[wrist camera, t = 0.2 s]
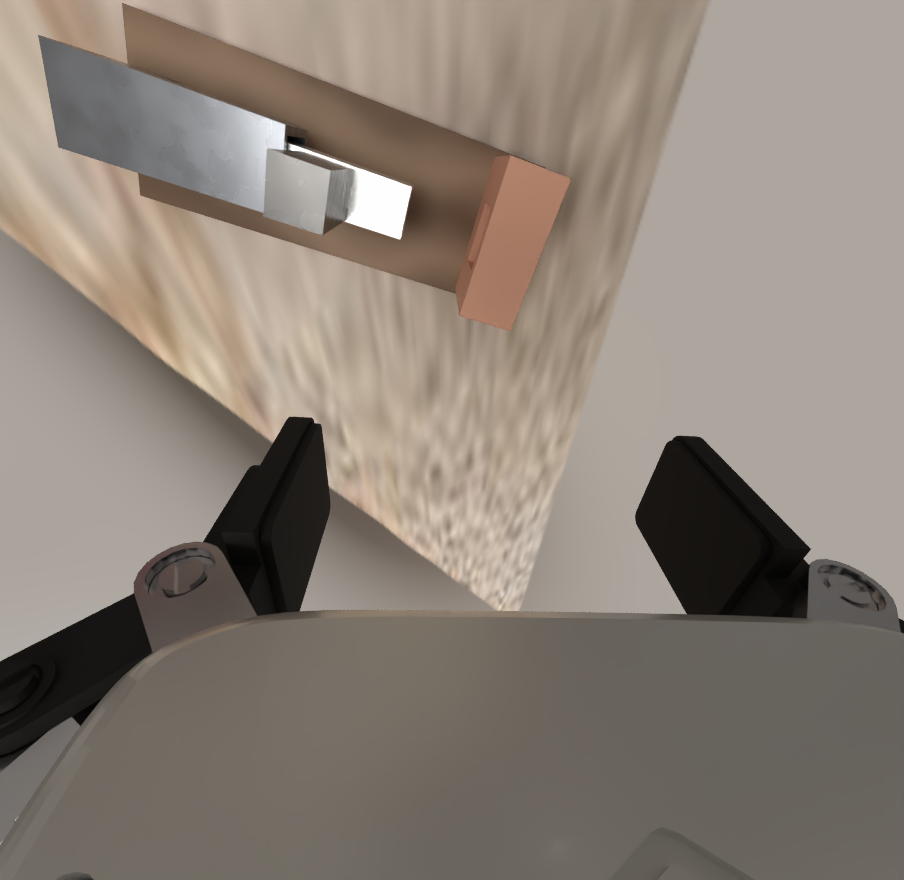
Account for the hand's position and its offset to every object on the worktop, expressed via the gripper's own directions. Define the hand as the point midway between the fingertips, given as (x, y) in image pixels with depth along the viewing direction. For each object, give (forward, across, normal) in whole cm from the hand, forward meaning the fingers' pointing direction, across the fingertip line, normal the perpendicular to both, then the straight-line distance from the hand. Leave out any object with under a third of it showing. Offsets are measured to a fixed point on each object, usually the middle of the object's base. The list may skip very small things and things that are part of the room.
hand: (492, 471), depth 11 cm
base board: (+30, +9, -5) cm, 32 cm away
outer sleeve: (+29, +17, -7) cm, 34 cm away
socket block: (+29, -3, -2) cm, 29 cm away
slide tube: (+26, +13, -6) cm, 29 cm away
